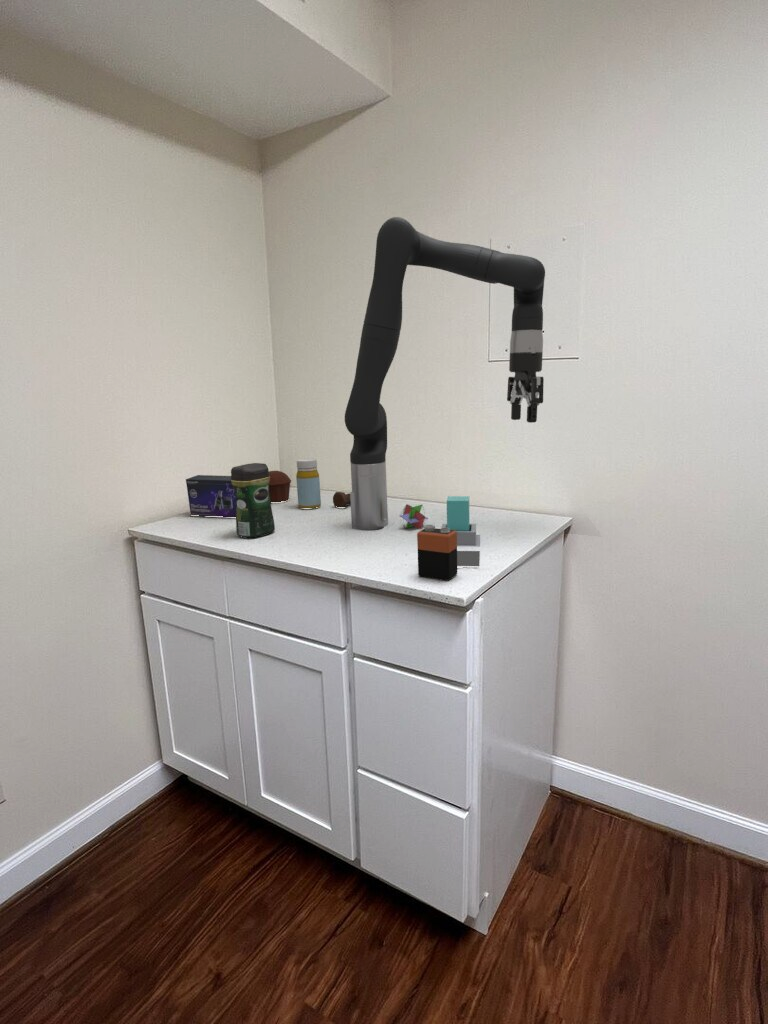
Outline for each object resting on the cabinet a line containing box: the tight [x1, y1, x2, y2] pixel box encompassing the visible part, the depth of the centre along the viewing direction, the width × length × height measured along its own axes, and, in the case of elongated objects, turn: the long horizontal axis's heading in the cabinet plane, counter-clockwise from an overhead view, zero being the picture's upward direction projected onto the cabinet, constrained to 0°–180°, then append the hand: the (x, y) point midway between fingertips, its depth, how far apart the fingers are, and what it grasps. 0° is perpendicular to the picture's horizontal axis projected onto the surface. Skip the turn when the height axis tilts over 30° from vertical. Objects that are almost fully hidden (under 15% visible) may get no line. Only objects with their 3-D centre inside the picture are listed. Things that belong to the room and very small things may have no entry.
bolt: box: [332, 491, 351, 508], centre depth 183 cm, size 6×5×15 cm
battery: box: [416, 524, 458, 581], centre depth 113 cm, size 4×7×10 cm, turn 59°
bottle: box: [295, 458, 322, 509], centre depth 180 cm, size 7×7×15 cm
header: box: [440, 523, 481, 548], centre depth 136 cm, size 10×10×4 cm
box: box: [185, 474, 236, 517], centre depth 174 cm, size 17×7×12 cm, turn 72°
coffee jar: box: [230, 462, 276, 538], centre depth 149 cm, size 10×8×19 cm
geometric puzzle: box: [399, 503, 429, 530], centre depth 149 cm, size 7×7×8 cm
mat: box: [457, 550, 481, 569], centre depth 123 cm, size 10×10×1 cm
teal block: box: [446, 495, 471, 531], centre depth 135 cm, size 5×5×10 cm
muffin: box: [269, 470, 292, 502], centre depth 192 cm, size 12×11×10 cm
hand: (523, 421), depth 139 cm, fingers open, 8 cm apart
